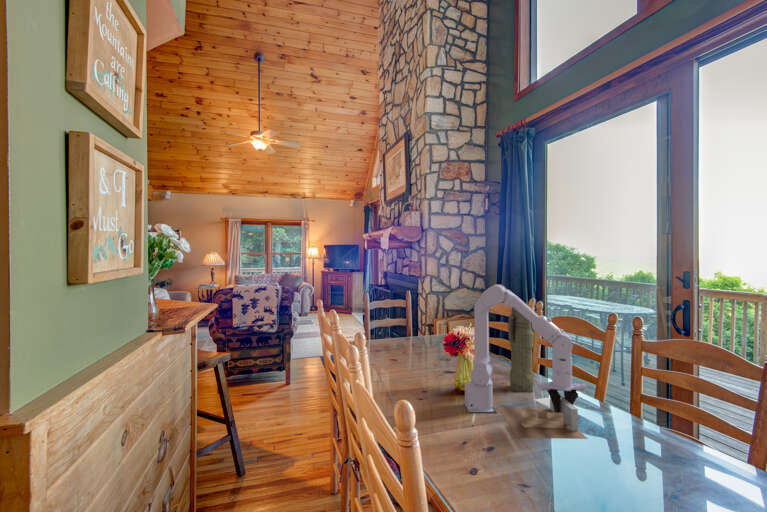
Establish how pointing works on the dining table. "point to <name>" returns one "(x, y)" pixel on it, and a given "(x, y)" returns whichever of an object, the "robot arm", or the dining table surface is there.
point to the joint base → (536, 432)
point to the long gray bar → (567, 413)
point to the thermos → (521, 352)
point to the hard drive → (544, 401)
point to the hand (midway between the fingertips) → (562, 412)
